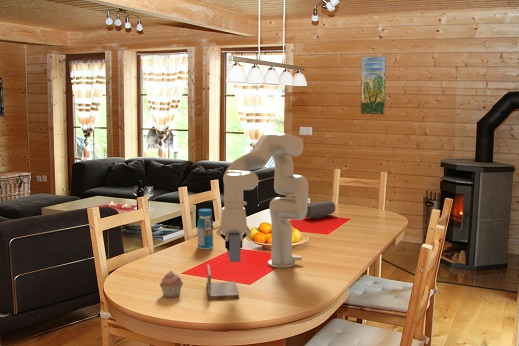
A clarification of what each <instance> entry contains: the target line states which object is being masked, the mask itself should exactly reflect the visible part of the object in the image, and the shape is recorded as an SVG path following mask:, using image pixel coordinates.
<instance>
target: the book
mask: <svg viewBox="0 0 519 346" xmlns="http://www.w3.org/2000/svg"><path fill="white" fill-rule="evenodd" d="M228 239H229V251H227V250H226V252H227V257H228V260H229V262H230V263H241V262H242V261H241V259H242V257H241V256H242V255H241V251H242V248H241V237H240V235H239V233H234V234H229V237H228Z"/></svg>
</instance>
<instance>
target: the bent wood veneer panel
mask: <svg viewBox="0 0 519 346" xmlns="http://www.w3.org/2000/svg"><path fill="white" fill-rule="evenodd" d="M206 266H207V267H206V269H207V270H206V271H207V273H206V274H207V281H206V285H205V286H206V295H207V300H208V301H212V300H214V301H215V300H235V299H236V300H237V299H240V294H239V290H238V287H237V283H236V281H220V282H219V281H217V282H212V277H211V274H212V273H211V269H210V268H211V267H210V264H207V265H206Z"/></svg>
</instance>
